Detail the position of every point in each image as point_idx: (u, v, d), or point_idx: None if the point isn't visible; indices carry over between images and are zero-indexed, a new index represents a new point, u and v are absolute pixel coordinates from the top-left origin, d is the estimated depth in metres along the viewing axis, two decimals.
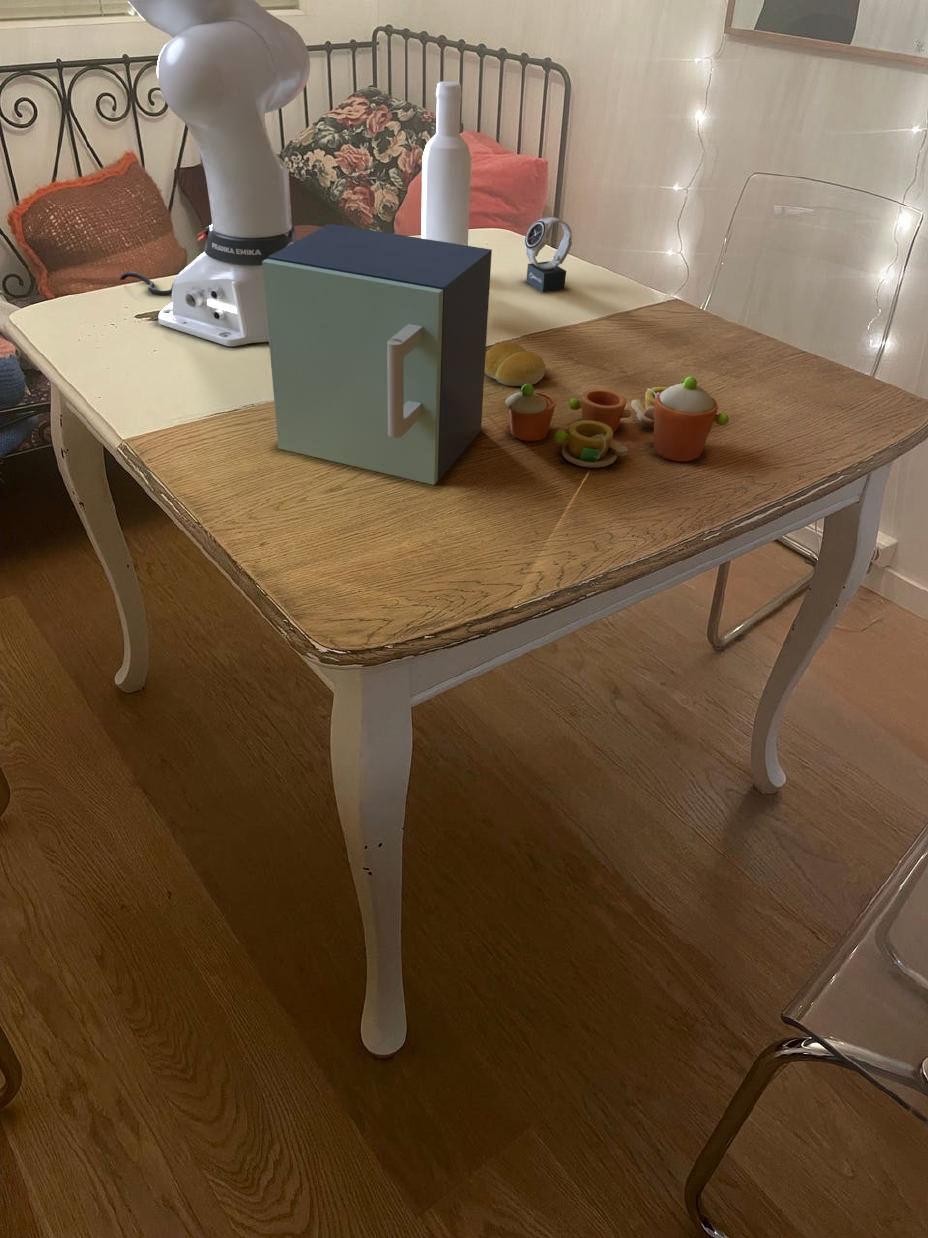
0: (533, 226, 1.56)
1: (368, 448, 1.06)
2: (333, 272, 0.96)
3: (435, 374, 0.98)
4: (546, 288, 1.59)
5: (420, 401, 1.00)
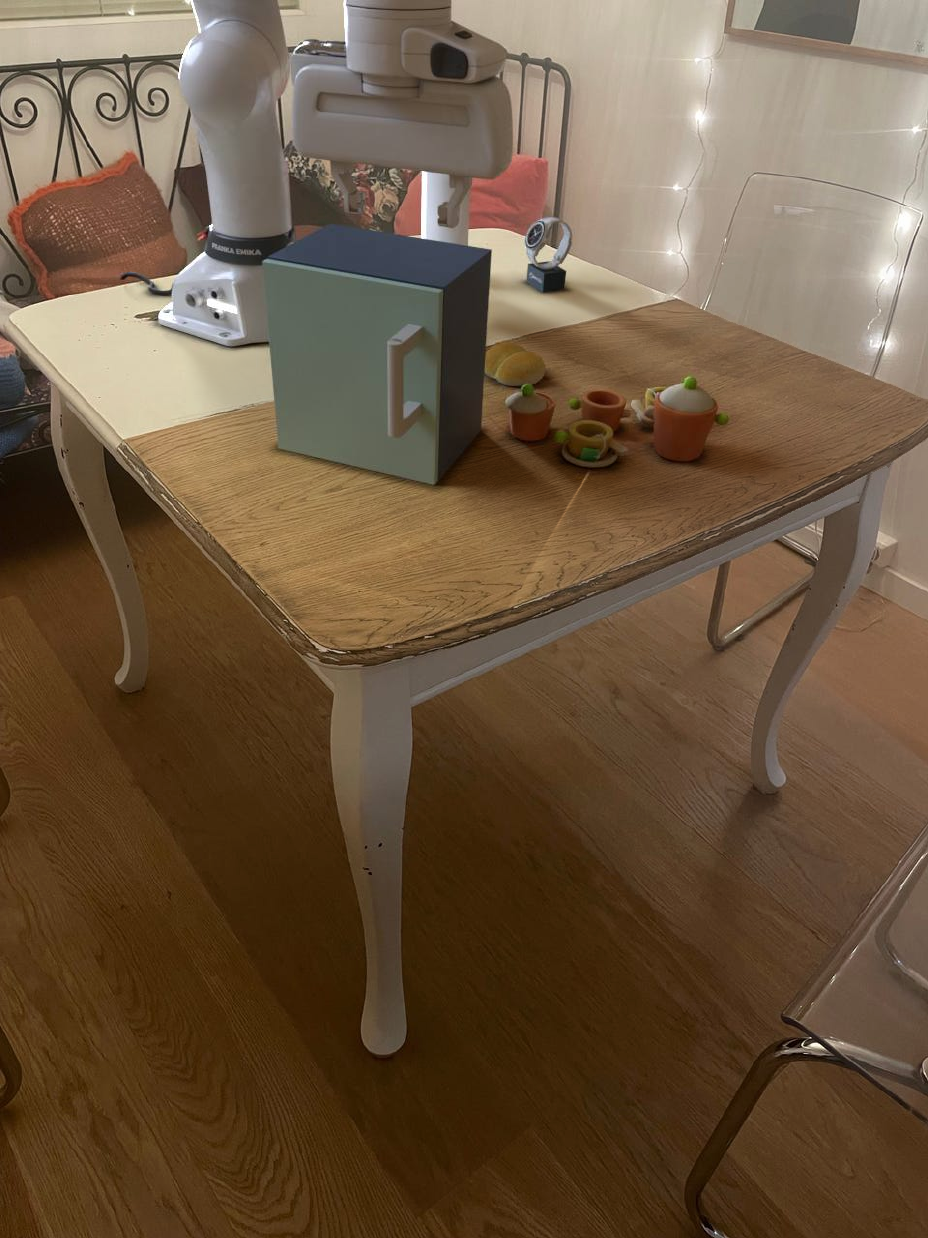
0: (533, 226, 1.56)
1: (368, 448, 1.06)
2: (333, 272, 0.96)
3: (435, 374, 0.98)
4: (546, 288, 1.59)
5: (420, 401, 1.00)
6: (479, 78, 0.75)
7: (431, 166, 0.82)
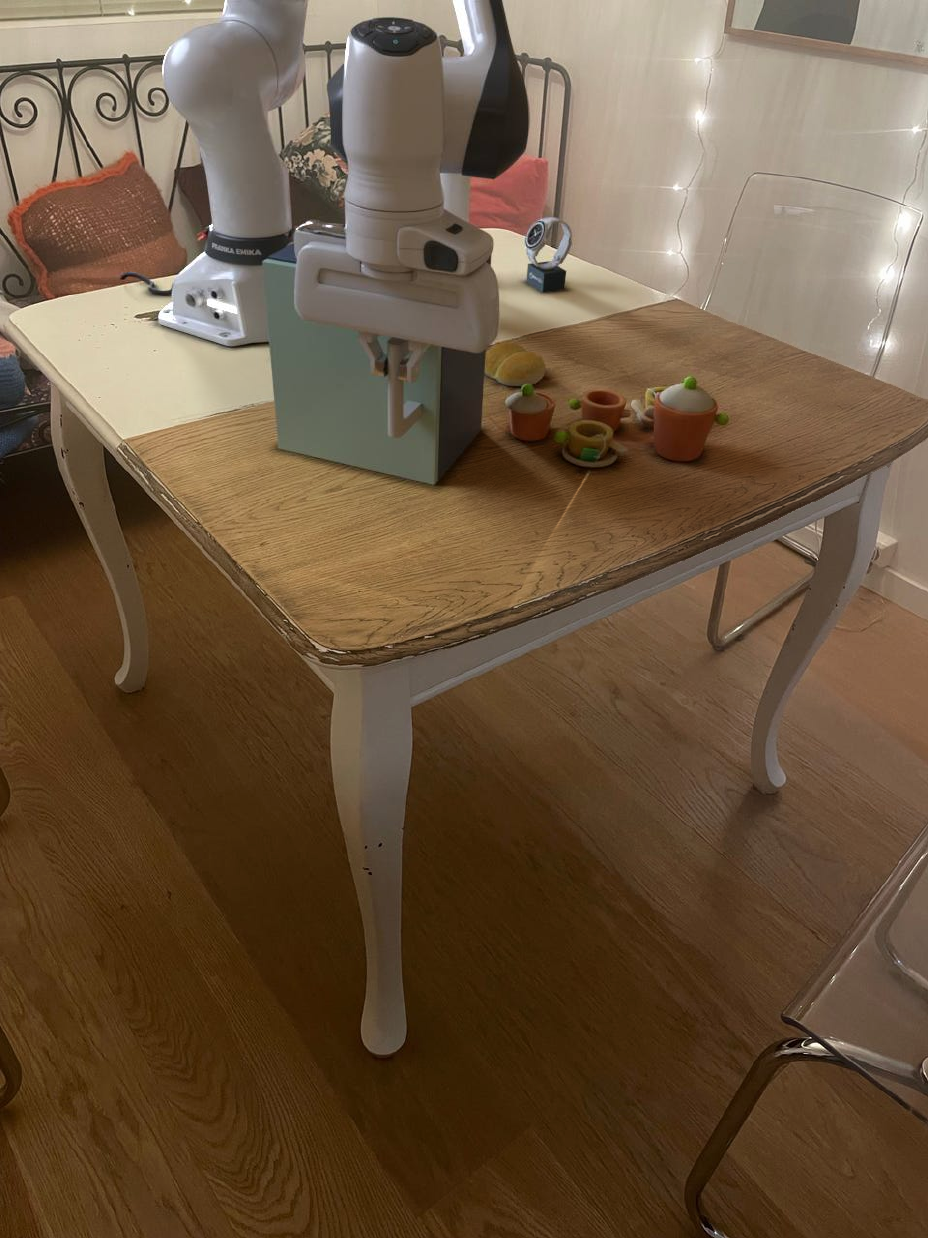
0: (533, 226, 1.56)
1: (368, 448, 1.06)
2: None
3: (435, 374, 0.98)
4: (546, 288, 1.59)
5: (420, 401, 1.00)
6: (468, 272, 0.82)
7: (423, 338, 0.88)
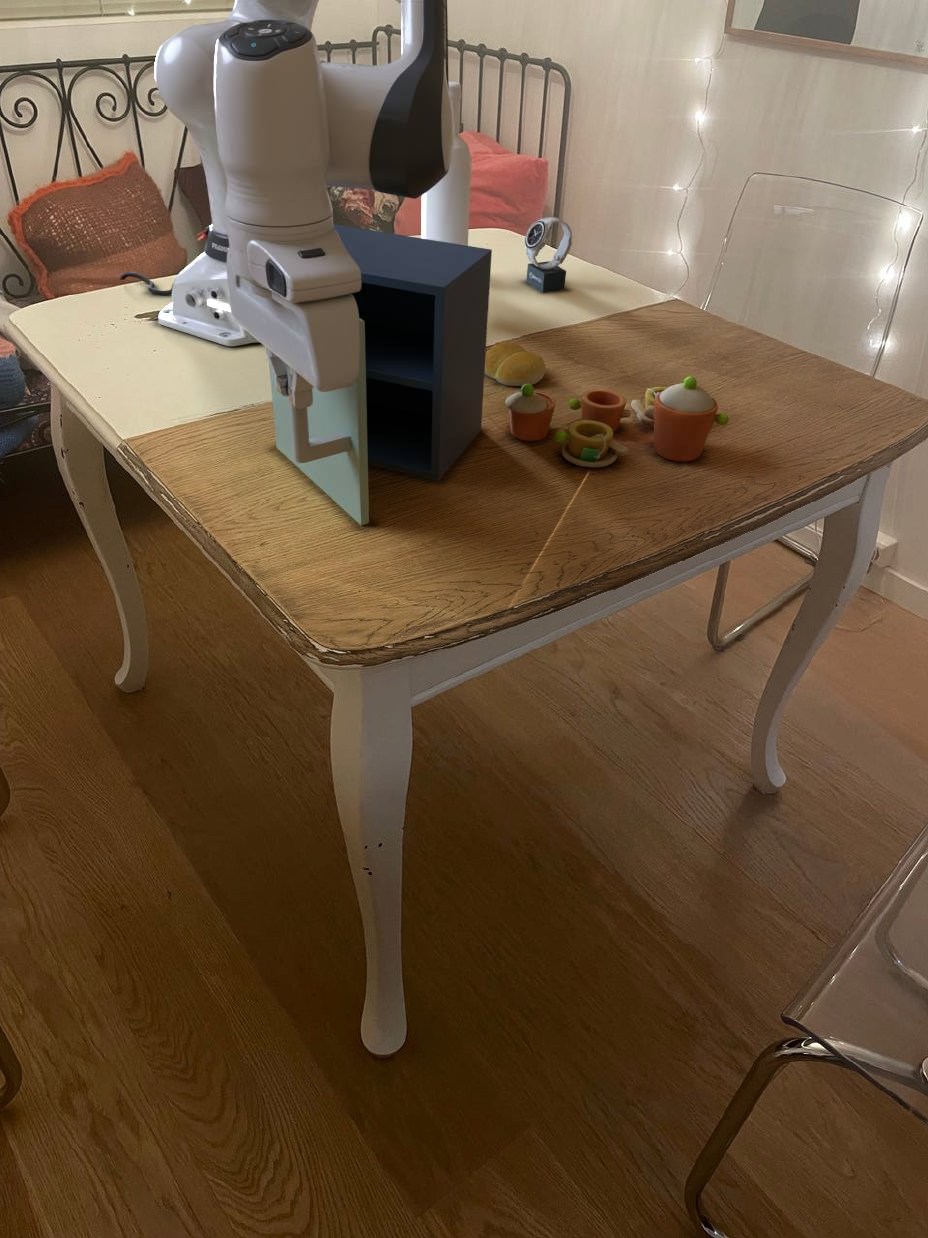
0: (533, 226, 1.56)
1: (323, 469, 1.02)
2: None
3: (356, 408, 0.90)
4: (546, 288, 1.59)
5: (349, 434, 0.94)
6: (294, 300, 0.74)
7: (289, 363, 0.82)
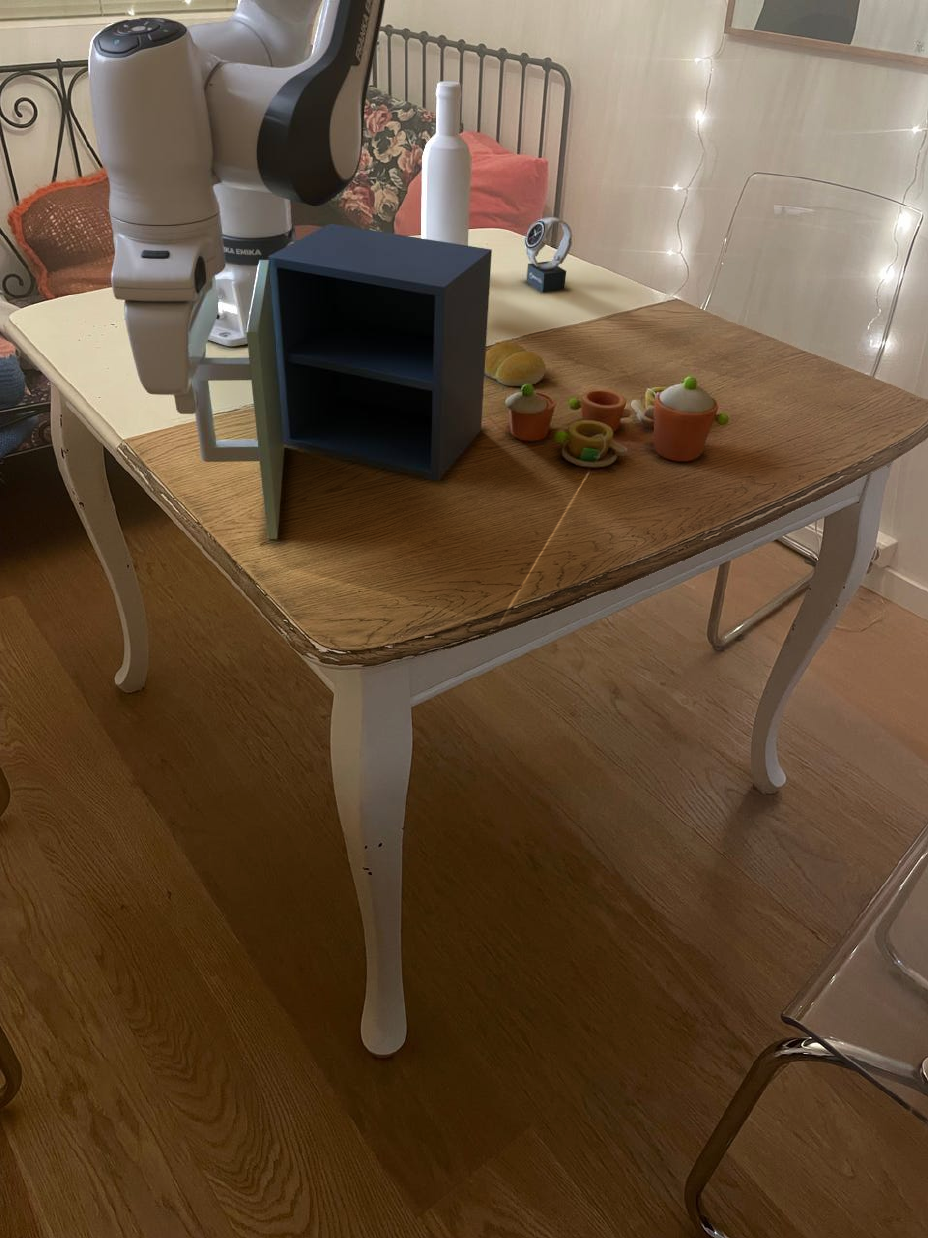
0: (533, 226, 1.56)
1: None
2: (258, 285, 0.92)
3: (255, 419, 0.88)
4: (546, 288, 1.59)
5: None
6: (115, 297, 0.74)
7: None
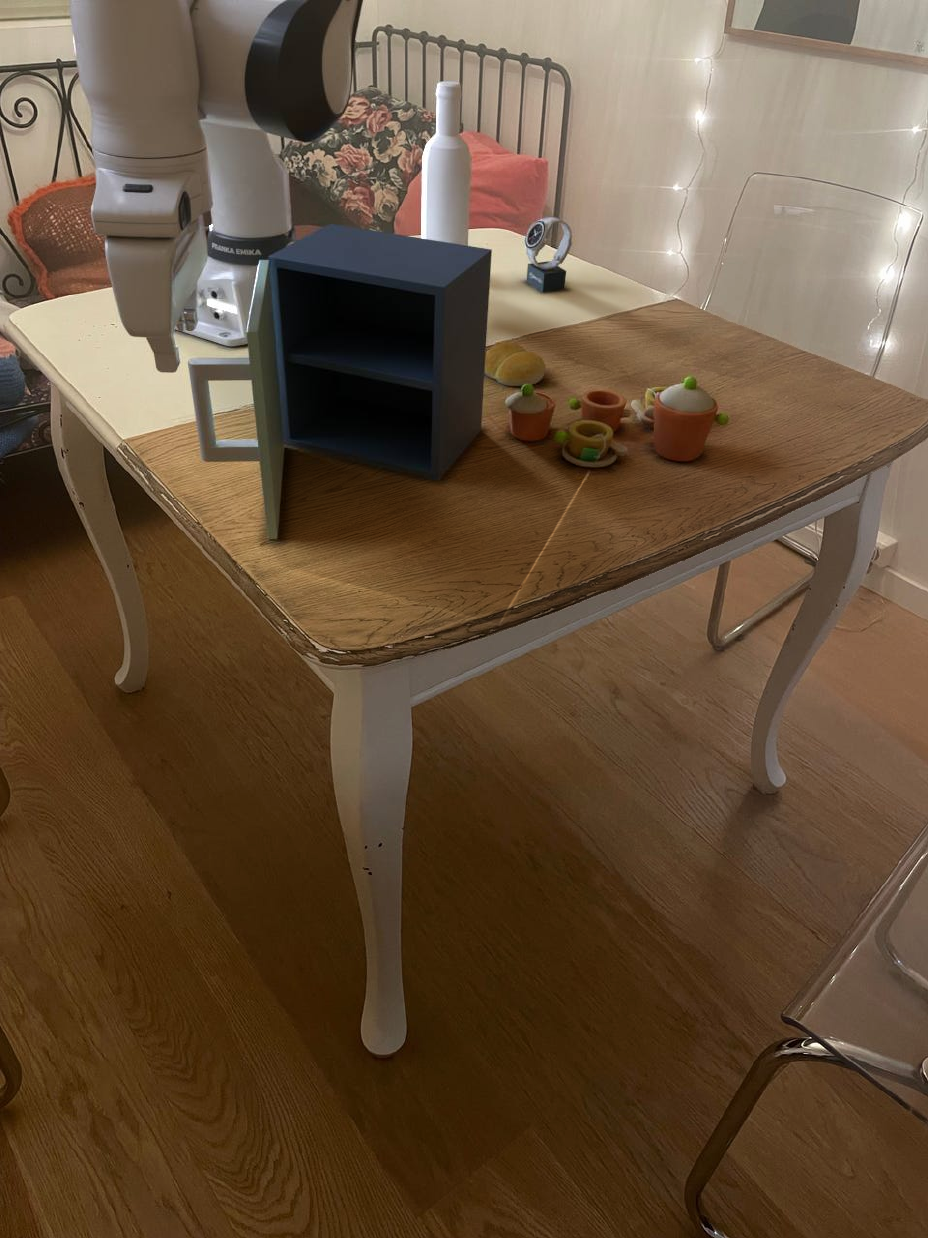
0: (533, 226, 1.56)
1: None
2: (258, 285, 0.92)
3: (255, 419, 0.88)
4: (546, 288, 1.59)
5: None
6: (96, 231, 0.71)
7: None
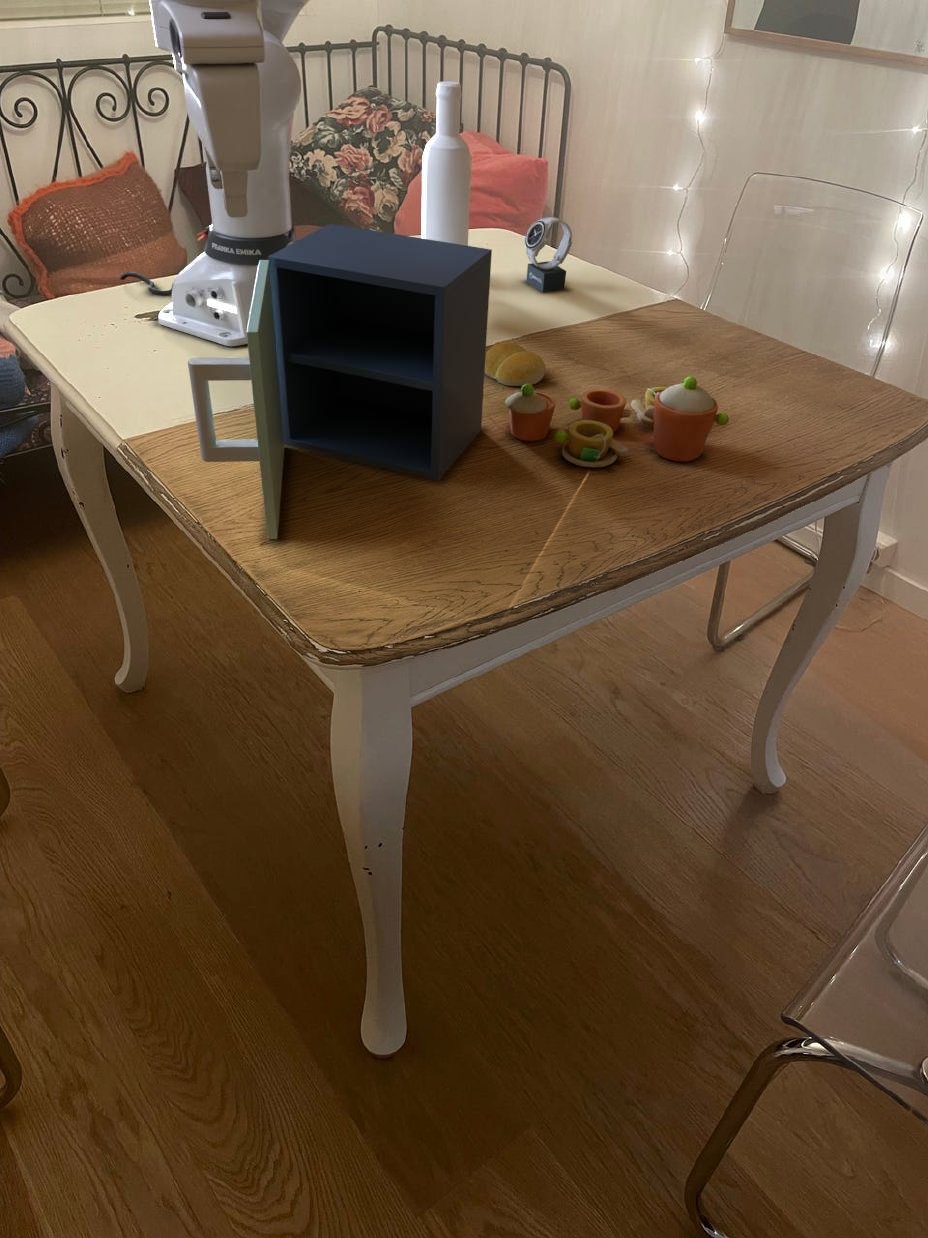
0: (533, 226, 1.56)
1: None
2: (258, 285, 0.92)
3: (255, 419, 0.88)
4: (546, 288, 1.59)
5: None
6: (185, 59, 0.71)
7: (206, 148, 0.80)
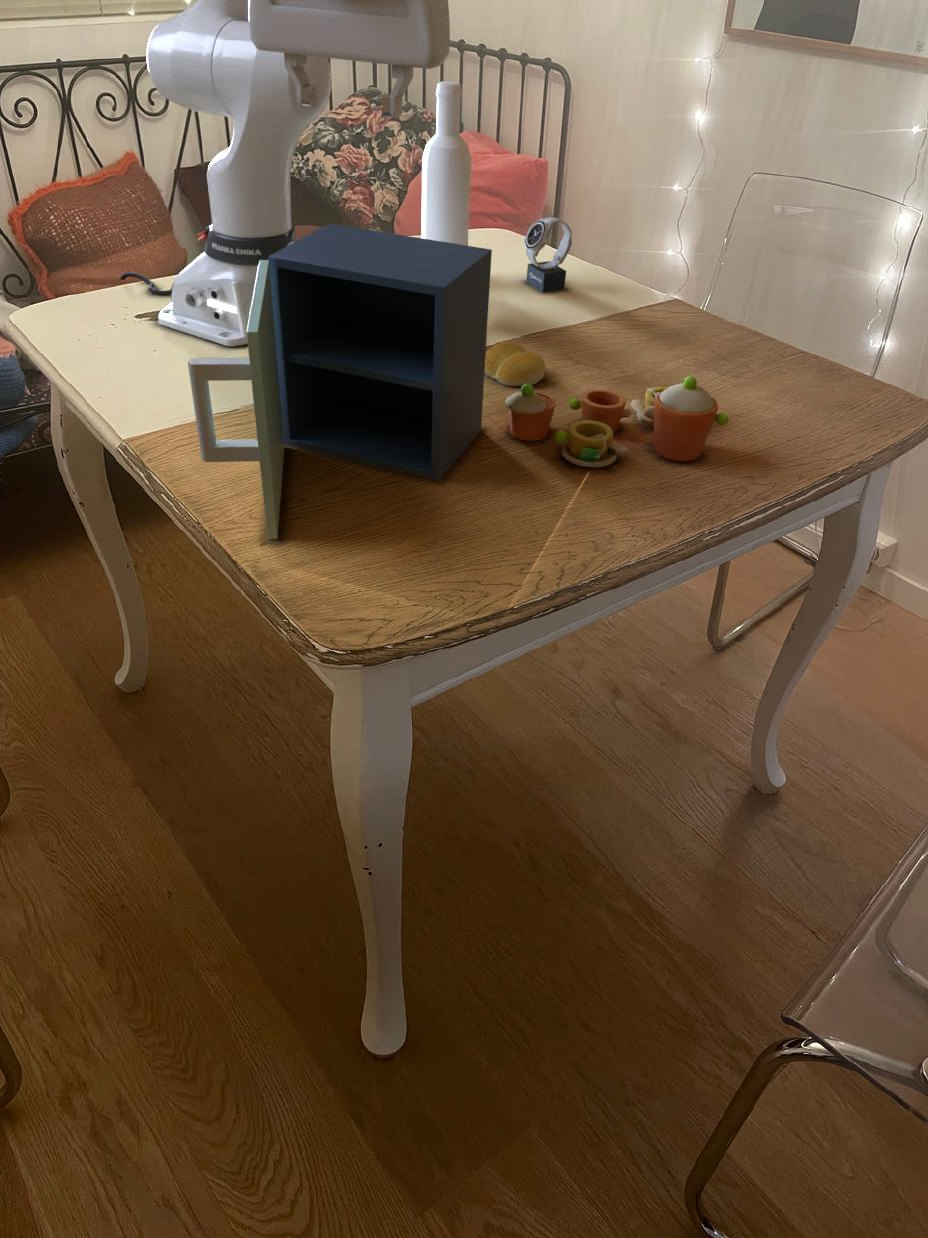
0: (533, 226, 1.56)
1: None
2: (258, 285, 0.92)
3: (255, 419, 0.88)
4: (546, 288, 1.59)
5: None
6: None
7: (375, 56, 0.89)
